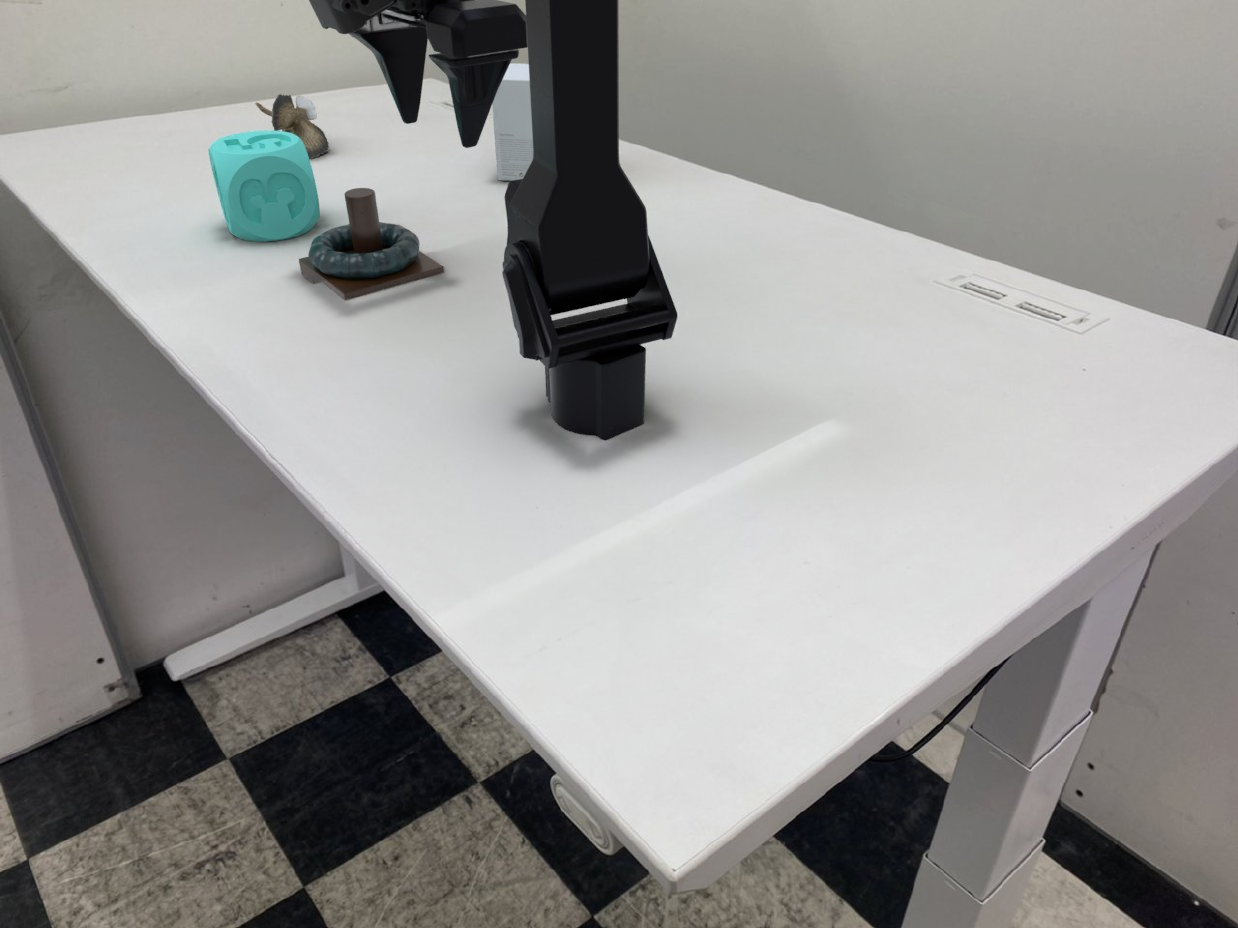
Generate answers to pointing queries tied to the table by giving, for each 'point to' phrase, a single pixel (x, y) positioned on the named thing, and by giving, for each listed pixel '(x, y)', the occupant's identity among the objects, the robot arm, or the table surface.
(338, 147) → the table surface
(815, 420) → the table surface
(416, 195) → the table surface
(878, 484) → the table surface
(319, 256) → the ring
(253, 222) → the decorative dice
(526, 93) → the small box
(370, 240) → the stand
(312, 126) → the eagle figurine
